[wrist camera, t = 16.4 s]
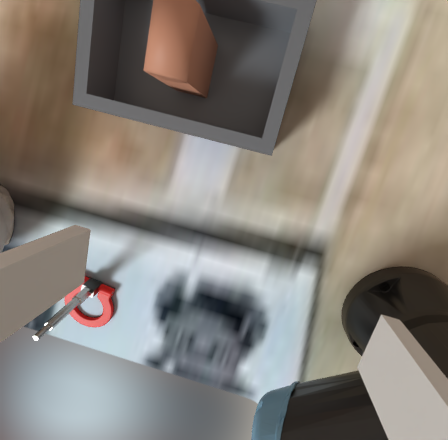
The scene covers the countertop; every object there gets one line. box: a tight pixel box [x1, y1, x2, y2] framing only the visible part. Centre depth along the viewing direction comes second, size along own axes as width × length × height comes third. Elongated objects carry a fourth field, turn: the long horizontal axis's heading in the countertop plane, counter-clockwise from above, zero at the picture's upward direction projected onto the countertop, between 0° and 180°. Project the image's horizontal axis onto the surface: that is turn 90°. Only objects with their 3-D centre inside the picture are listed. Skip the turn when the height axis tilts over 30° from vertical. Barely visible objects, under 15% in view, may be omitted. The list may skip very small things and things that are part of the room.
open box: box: [73, 0, 316, 156], centre depth 32 cm, size 23×15×7 cm, turn 77°
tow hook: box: [33, 276, 115, 340], centre depth 41 cm, size 8×13×9 cm
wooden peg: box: [144, 0, 218, 98], centre depth 28 cm, size 4×6×12 cm, turn 167°
